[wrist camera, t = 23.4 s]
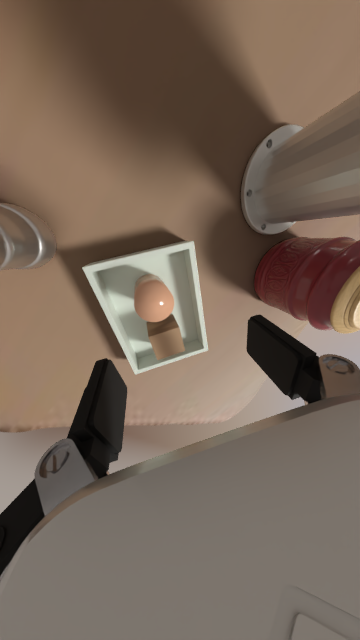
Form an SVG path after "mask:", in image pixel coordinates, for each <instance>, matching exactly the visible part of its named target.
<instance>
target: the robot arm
mask: <svg viewBox="0 0 360 640" xmlns="http://www.w3.org/2000/svg"><path fill="white" fill-rule="evenodd" d="M241 204H242V210H243V214H244V217H245V219H246V221H247V223H248V224H249V226H250V227H251V228H252V229H253V230H255V231H256V232H258V233H260V234H265V235H273V234H278V233H281V232H283V231H285V230H287V229H288V228H289V227H291V226H292V225H293V224H294V223H295V222H296V221H304V220H313V219H322V218H331V217H340V216H349V215H358V214H360V91H359V92H358V93H356V94H355V95H353V96H352V97H350V98H349V99H347V100H346V101H344V102H343V103H341V104H340V105H338V106H337V107H335V108H333V109H332V110H330V111H329V112H327V113H326V114H324V115H323V116H321V117H320V118H318V119H317V120H315V121H314V122H312V123H311V124H309V125H308V126H306V127H305V128H304V127H302V126H299V125H293V124H288V125H285V126H282V127H280V128H278V129H276V130H275V131H273V132H272V133H271V134H269V135H268V136H267V137H266V138H264V139H263V141H262V142H261V143H260V144H259V145H258V146H257V148H256V149H255V151H254V152H253V154H252V156H251V158H250V160H249V162H248V164H247V166H246V170H245V173H244V176H243V181H242V187H241ZM247 352H248V354H249V355H250V356H251V357H252V358H253V359H254V361H255V362H256V363H257V364H258V365H259V366H260V367H261V369H262V370H263V371H264V372H265V373H266V374H267V375H268V376H269V378H270V379H271V380H272V381H273V382H274V383H275V384H276V385H277V387H278V388H279V389H280V390H281V391H282V392H283V393H284V394H285V395H288V396H289V397H290V398H291V399H292V400H293V399H296V398H299V397H301V398H303V400H304V402H305V406H301V407H298V408H295V409H292V410H289V411H286V412H283V413H280V414H277V415H274V416H272V417H269V418H266V419H263V420H260V421H257V422H254V423H251V424H249V425H246V426H243V427H240V428H237V429H234V430H231V431H228V432H225V433H223V434H220V435H217V436H214V437H211V438H208V439H205V440H203V441H200V442H197V443H194V444H191V445H188V446H186V447H183V448H180V449H177V450H174V451H172V452H169V453H166V454H164V455H161V456H158V457H155V458H152V459H149V460H146V461H144V462H141V463H138V464H136V465H133V466H130V467H128V468H125V469H122V470H120V471H117V472H115V473H112V474H109V472H108V469H109V463H110V462H113V461H116V460H118V453H119V452H121V449H122V440H123V429H124V420H125V409H126V399H127V387H126V385H125V383H124V381H123V379H122V378H121V376H120V374H119V373H118V371H117V369H116V368H115V366H114V364H113V363H112V361H111V360H108V359H107V358H105V359H102V360H98V361H96V363H95V365H94V368H93V371H92V374H91V377H90V379H89V382H88V385H87V387H86V388H85V390H84V393H83V396H82V398H81V401H80V404H79V406H78V409H77V412H76V415H75V417H74V420H73V423H72V425H71V428H70V431H69V434H68V437H67V438H66V439H62V440H60V441H58V442H56V443H55V444H54V445H52V446H51V447H50V448H49V449H48V450H47V451H46V452H45V453H44V455H43V456H42V458H41V459H40V461H39V463H38V465H37V467H36V470H35V479H34V480H33V481H32V482H31V483H30V484H29V485H28V486H27V487H26V488H25V489H24V491H22V492H21V493H20V495H19V496H18V497H17V498H16V499H15V500H14V501H13V502H12V503H11V504H10V505H9V506H8V507H7V508H6V509H5V510H4V511H3V512H2V513H1V514H0V640H360V369H359V368H358V367H357V365H356V364H355V363H353V362H352V361H350V360H348V359H346V358H344V357H341V356H337V355H332V354H327V355H323V356H321V357H320V358H319V357H318V356H316V353H315V352H314V351H312V350H311V349H309V348H308V347H306V346H305V345H303V344H302V343H300V342H299V341H298V340H296V339H295V338H293V337H292V336H291V335H289V334H288V333H286V332H285V331H283V330H282V329H280V328H279V327H277V326H276V325H275V324H273V323H272V322H270V321H269V320H267V319H266V318H264V317H263V316H262V315H256V316H252V317H250V320H248V333H247Z"/></svg>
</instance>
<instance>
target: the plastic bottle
mask: <svg viewBox="0 0 360 640" xmlns="http://www.w3.org/2000/svg"><path fill="white" fill-rule="evenodd" d="M55 253H56V239H55V236H54V234H53V232H52V230H51V229H50V227H49V226H48V225H47V224H46V223H45V222H44V221H43V220H42V219H41V218H40V217H38V216H37V215H35V214H33V213H32V212H30V211H28V210H26V209H24V208H22V207H20V206H17V205H13V204H8V203H0V270H9V269H33V268H38V267H41V266H43V265H45V264H46V263H47V262H49V261H50V260H51V259H52V258H53V257H54V255H55Z"/></svg>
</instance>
